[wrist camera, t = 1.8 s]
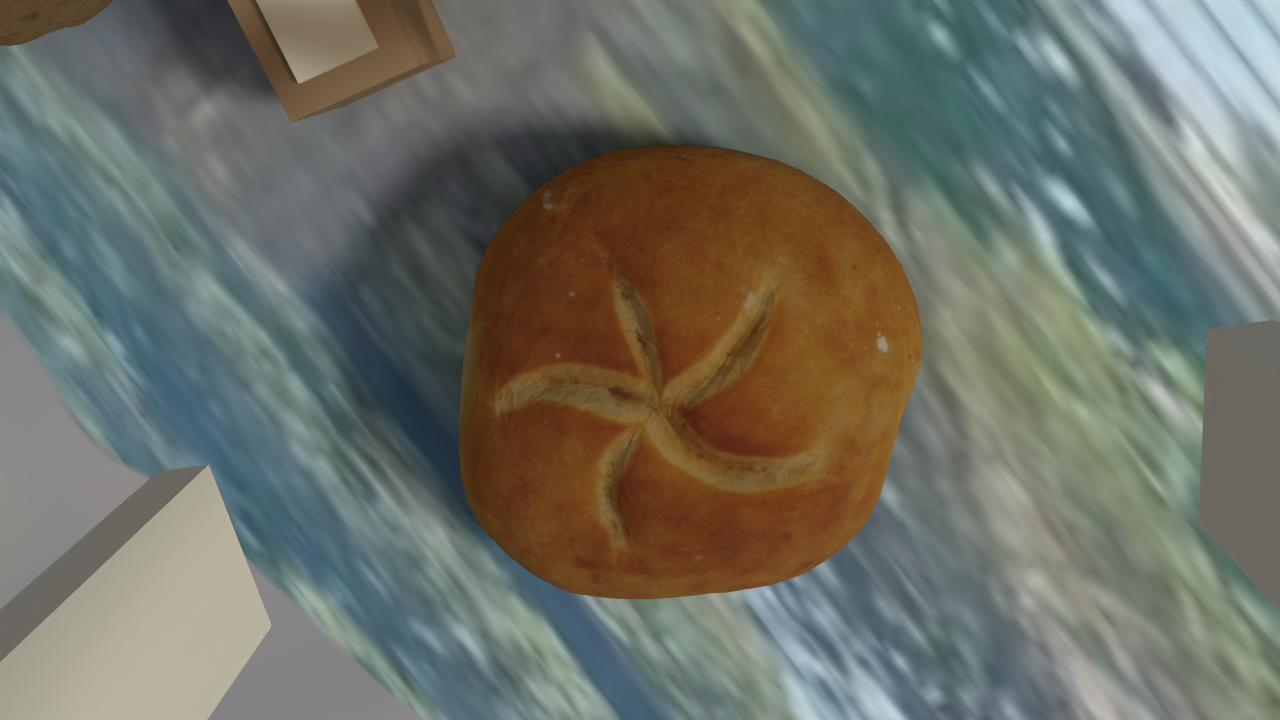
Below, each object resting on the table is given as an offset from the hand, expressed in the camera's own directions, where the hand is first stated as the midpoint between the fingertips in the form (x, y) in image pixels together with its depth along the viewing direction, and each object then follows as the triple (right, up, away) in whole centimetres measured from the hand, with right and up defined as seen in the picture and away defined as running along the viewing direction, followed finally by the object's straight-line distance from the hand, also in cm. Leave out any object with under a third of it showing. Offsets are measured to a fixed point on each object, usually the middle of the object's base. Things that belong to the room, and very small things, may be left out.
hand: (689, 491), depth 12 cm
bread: (+1, +2, +35) cm, 35 cm away
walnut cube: (-13, +17, +30) cm, 37 cm away
